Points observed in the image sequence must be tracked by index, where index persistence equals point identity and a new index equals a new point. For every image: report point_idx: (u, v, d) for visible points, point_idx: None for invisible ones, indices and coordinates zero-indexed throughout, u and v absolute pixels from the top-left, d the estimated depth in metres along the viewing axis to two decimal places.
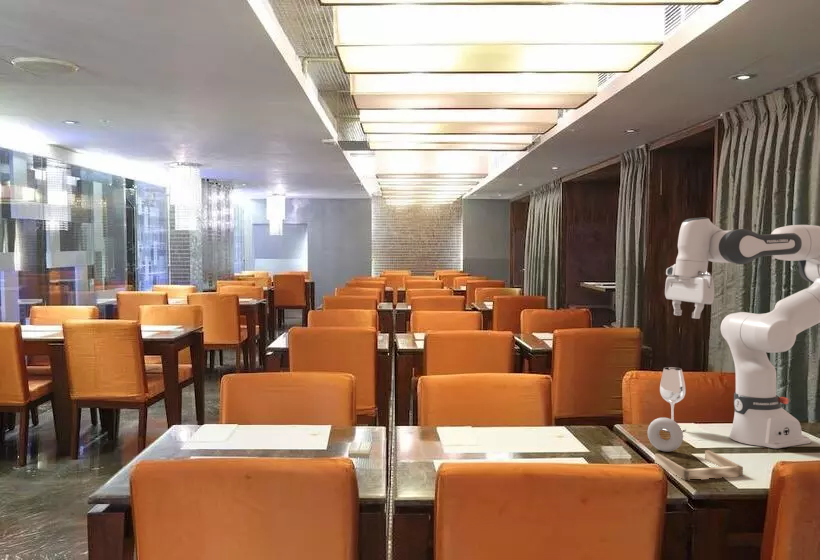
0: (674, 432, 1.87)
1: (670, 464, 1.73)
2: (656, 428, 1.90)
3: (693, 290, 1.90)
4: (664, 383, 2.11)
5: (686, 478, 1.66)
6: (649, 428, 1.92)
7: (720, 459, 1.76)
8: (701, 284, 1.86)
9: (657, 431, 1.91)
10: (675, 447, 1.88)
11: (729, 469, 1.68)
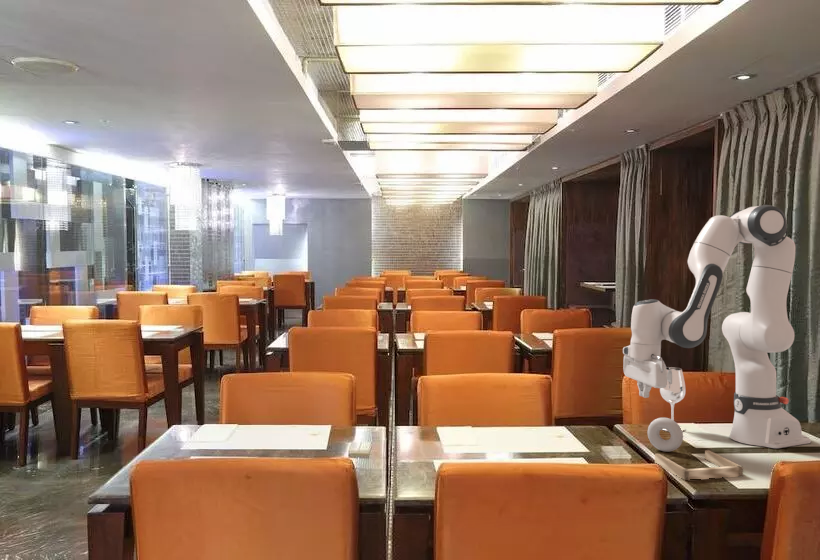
0: (674, 432, 1.87)
1: (670, 464, 1.73)
2: (656, 428, 1.90)
3: (647, 373, 1.95)
4: None
5: (686, 478, 1.66)
6: (649, 428, 1.92)
7: (720, 459, 1.76)
8: (654, 369, 1.92)
9: (657, 431, 1.91)
10: (675, 447, 1.88)
11: (729, 469, 1.68)
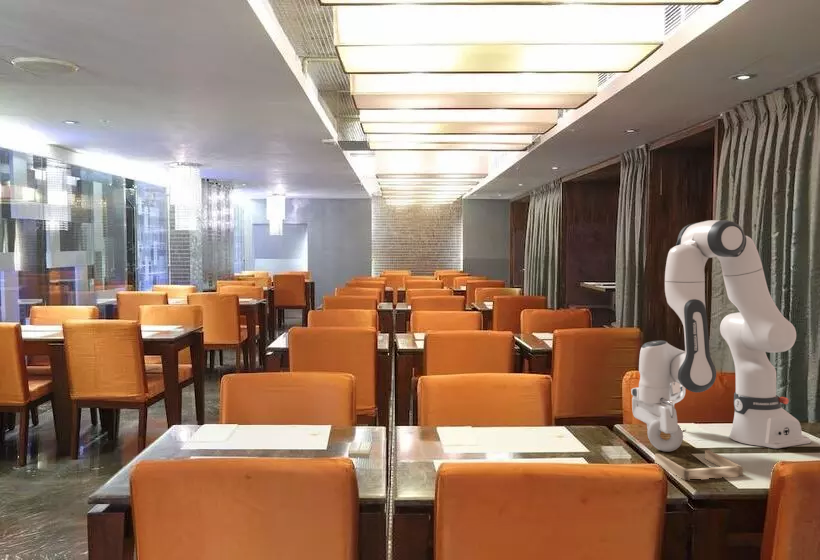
0: None
1: (670, 464, 1.73)
2: (656, 428, 1.90)
3: (657, 417, 1.91)
4: None
5: (686, 478, 1.66)
6: (649, 428, 1.92)
7: (720, 459, 1.76)
8: (664, 414, 1.87)
9: (657, 431, 1.91)
10: (675, 447, 1.88)
11: (729, 469, 1.68)
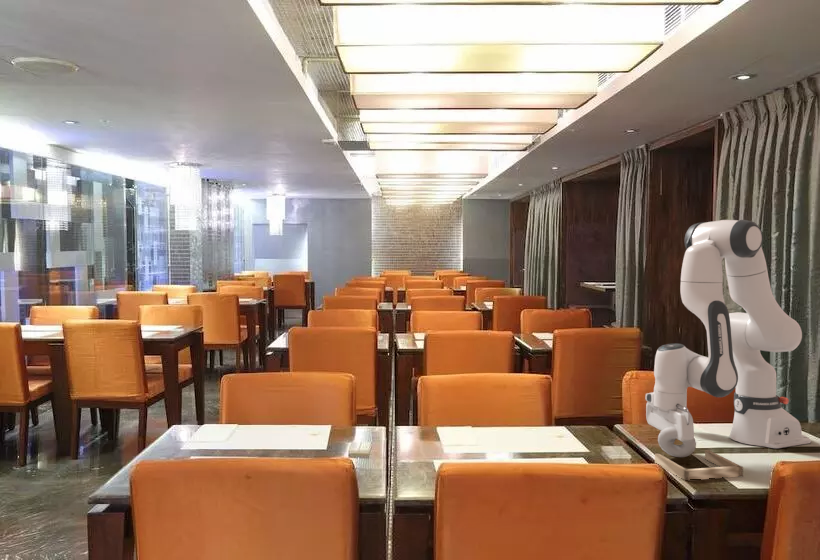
0: (688, 443, 1.79)
1: (670, 464, 1.73)
2: (668, 439, 1.81)
3: (672, 424, 1.82)
4: None
5: (686, 478, 1.66)
6: (660, 439, 1.83)
7: (720, 459, 1.76)
8: (679, 421, 1.78)
9: (668, 441, 1.82)
10: (689, 454, 1.81)
11: (729, 469, 1.68)
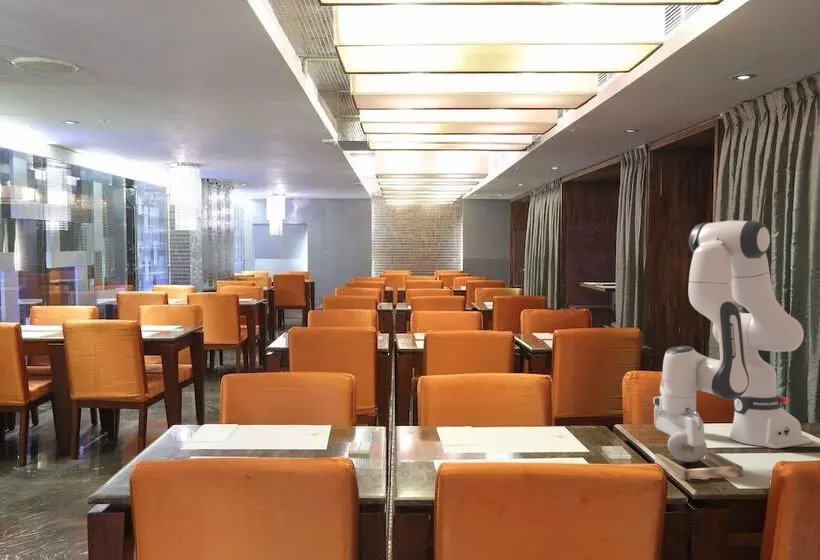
0: (699, 447, 1.75)
1: (670, 464, 1.73)
2: (678, 444, 1.77)
3: (682, 429, 1.77)
4: None
5: (686, 478, 1.66)
6: (670, 444, 1.78)
7: (720, 459, 1.76)
8: (690, 426, 1.74)
9: (679, 446, 1.78)
10: (700, 459, 1.77)
11: (729, 469, 1.68)
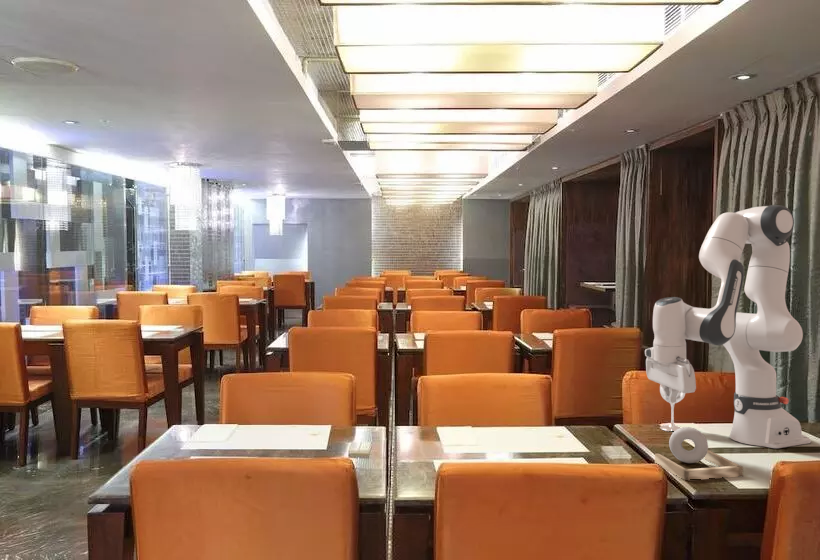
0: (700, 442, 1.77)
1: (670, 464, 1.73)
2: (680, 439, 1.79)
3: (674, 377, 1.82)
4: None
5: (686, 478, 1.66)
6: (672, 439, 1.81)
7: (720, 459, 1.76)
8: (681, 373, 1.79)
9: (680, 442, 1.80)
10: (701, 458, 1.78)
11: (729, 469, 1.68)
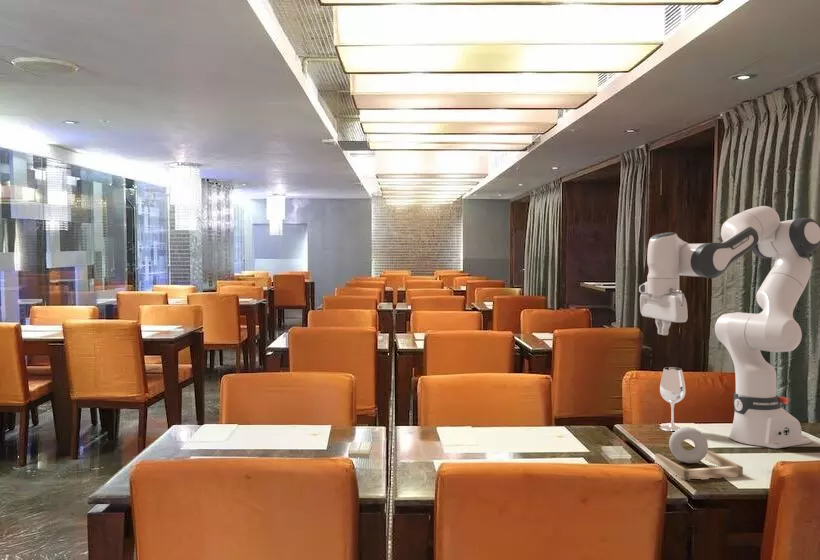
0: (700, 442, 1.77)
1: (670, 464, 1.73)
2: (680, 439, 1.79)
3: (666, 308, 1.86)
4: (664, 383, 2.11)
5: (686, 478, 1.66)
6: (672, 439, 1.80)
7: (720, 459, 1.76)
8: (673, 303, 1.83)
9: (680, 442, 1.80)
10: (701, 458, 1.78)
11: (729, 469, 1.68)
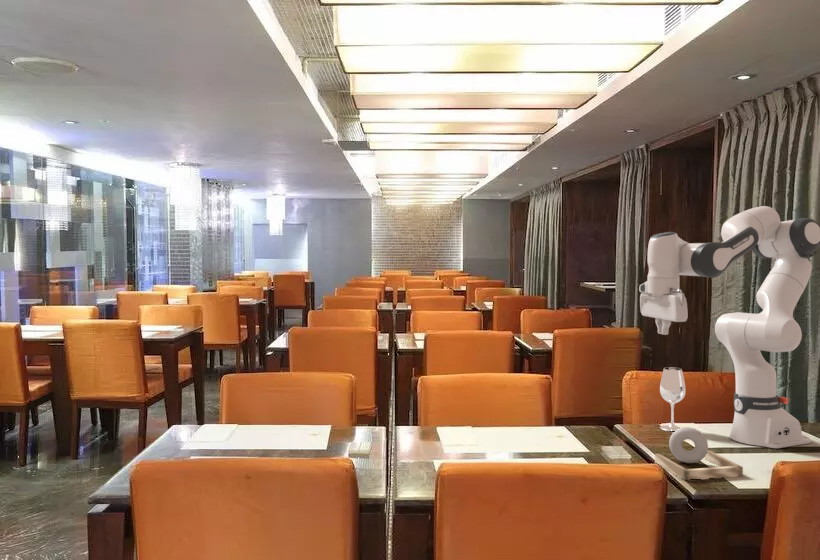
0: (700, 442, 1.77)
1: (670, 464, 1.73)
2: (680, 439, 1.79)
3: (666, 308, 1.87)
4: (664, 383, 2.11)
5: (686, 478, 1.66)
6: (672, 439, 1.80)
7: (720, 459, 1.76)
8: (673, 302, 1.83)
9: (681, 442, 1.80)
10: (701, 458, 1.78)
11: (729, 469, 1.68)
